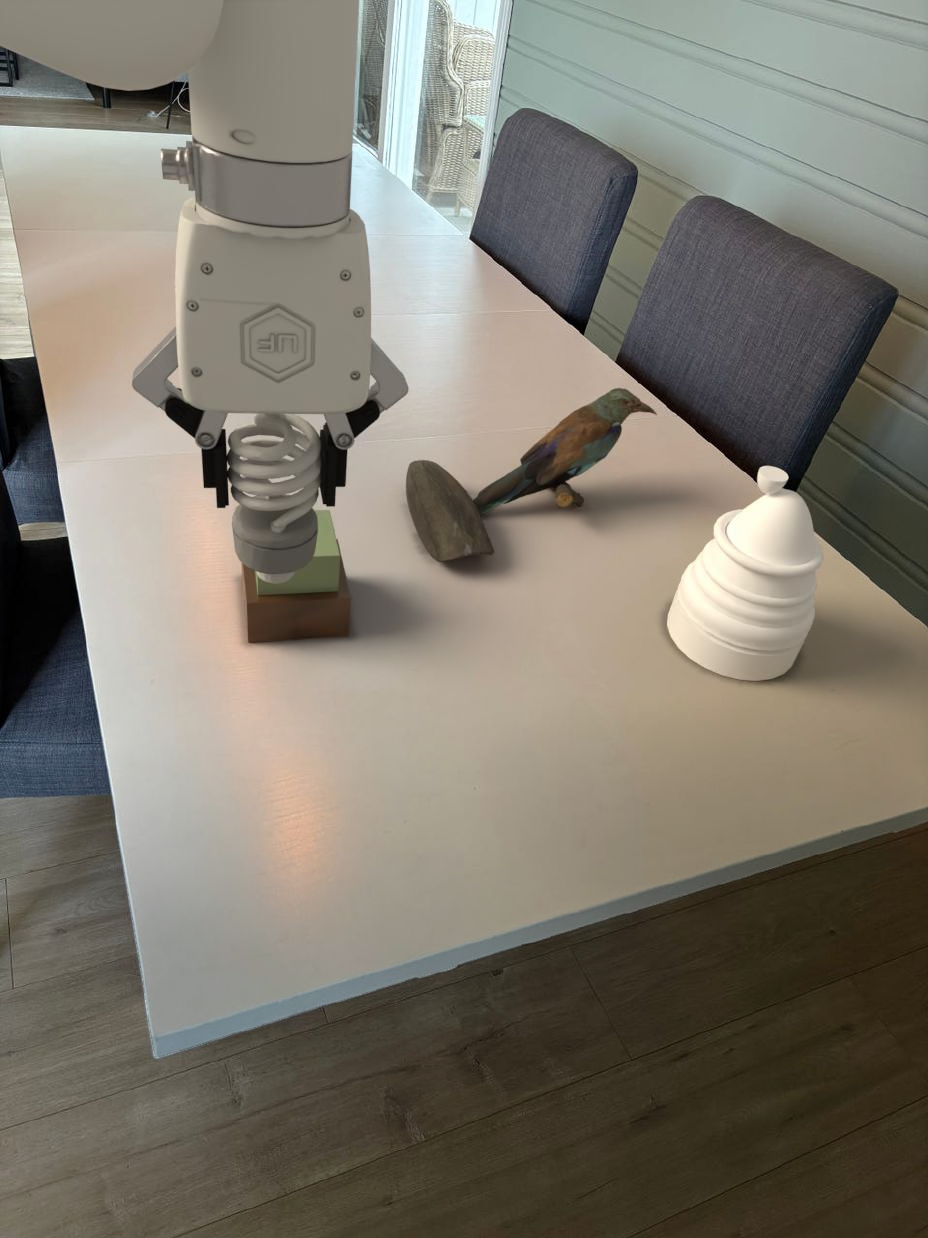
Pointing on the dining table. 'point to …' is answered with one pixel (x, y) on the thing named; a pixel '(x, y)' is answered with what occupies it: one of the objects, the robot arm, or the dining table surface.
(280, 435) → the light bulb
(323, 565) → the top block
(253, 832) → the dining table surface
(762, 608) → the honey pot
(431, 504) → the decorative stone
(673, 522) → the dining table surface
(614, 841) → the dining table surface
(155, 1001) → the dining table surface
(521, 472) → the bird figurine
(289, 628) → the base block
